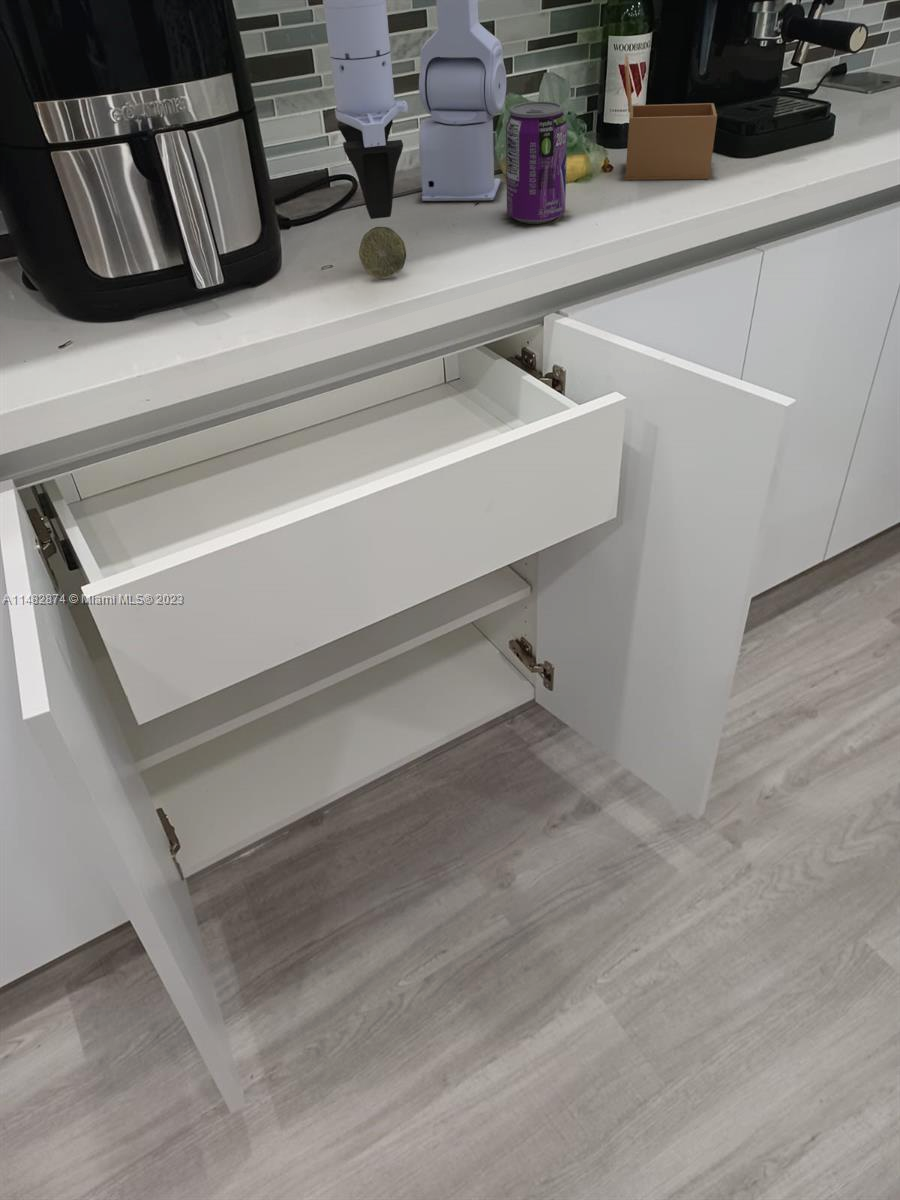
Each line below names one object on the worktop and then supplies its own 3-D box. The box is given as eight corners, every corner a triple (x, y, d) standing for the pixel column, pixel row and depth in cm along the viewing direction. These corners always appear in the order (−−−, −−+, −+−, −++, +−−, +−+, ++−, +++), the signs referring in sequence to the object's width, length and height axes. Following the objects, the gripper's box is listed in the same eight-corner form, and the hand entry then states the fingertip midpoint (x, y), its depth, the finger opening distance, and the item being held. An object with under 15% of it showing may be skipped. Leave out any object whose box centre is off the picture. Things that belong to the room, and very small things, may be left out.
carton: (625, 180, 116) (629, 118, 111) (626, 165, 121) (630, 105, 116) (709, 179, 114) (717, 116, 109) (706, 164, 119) (713, 103, 114)
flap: (631, 112, 110) (628, 112, 110) (631, 99, 115) (629, 100, 115) (627, 65, 107) (624, 66, 107) (627, 54, 112) (625, 55, 112)
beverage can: (561, 227, 103) (564, 114, 95) (502, 226, 105) (500, 115, 97) (567, 207, 108) (570, 99, 101) (511, 207, 110) (510, 100, 102)
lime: (414, 273, 95) (409, 226, 92) (379, 286, 93) (373, 238, 90) (388, 263, 98) (384, 217, 95) (354, 276, 96) (348, 229, 92)
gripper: (412, 63, 77) (424, 223, 86) (393, 37, 87) (406, 181, 96) (332, 71, 76) (352, 231, 85) (323, 44, 87) (342, 188, 96)
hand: (376, 205), depth 91 cm, fingers open, 7 cm apart
